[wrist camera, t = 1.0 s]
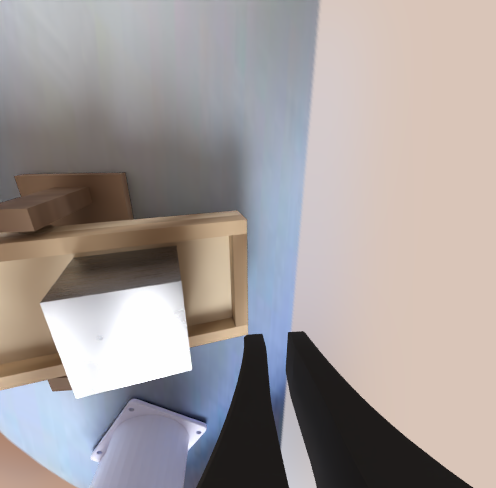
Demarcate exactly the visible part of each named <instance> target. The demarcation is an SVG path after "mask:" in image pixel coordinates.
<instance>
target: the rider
mask: <svg viewBox="0 0 496 488" xmlns="http://www.w3.org/2000/svg"><path fill="white" fill-rule="evenodd" d="M40 305H41V308H42V310H43V313H44V316H45V318H46V321H47V324H48V326H49V329H50V331H51V334H52V337H53V339H54V342H55V345H56V347H57V350H58V353H59V355H60V358H61V360H62V363H63V366H64V368H65V371H66V374H67V376H68V379H69V381H70V384H71V387H72V389H73V392H74V395H75V397H76V399H78V398H82V397H86V396H90V395H94V394H98V393H102V392H106V391H110V390H114V389H118V388H122V387H126V386H130V385H134V384H138V383H142V382H146V381H150V380H154V379H158V378H162V377H166V376H170V375H174V374H178V373H182V372H186V371H190V370H192V363H191V355H190V347H189V339H188V331H187V323H186V314H185V306H184V298H183V290H182V282H181V275H180V267H179V260H178V253H177V246H168V247H159V248H151V249H143V250H134V251H126V252H117V253H109V254H100V255H92V256H83V257H75V258H73V259H72V260H71V261H70V263H69V264H68V265H67V267H66V268H65V270H64V271H63V272H62V274H61V275H60V276H59V278H58V279H57V280H56V282H55V283H54V284H53V286H52V287H51V288H50V290H49V291H48V293H47V294H46V295H45V297H44V298H43V299H42V301H41V302H40Z"/></svg>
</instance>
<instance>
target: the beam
mask: <svg viewBox="0 0 496 488" xmlns="http://www.w3.org/2000/svg"><path fill="white" fill-rule="evenodd" d="M168 246H177V253H178V260H179V267H180V275H181V282H182V290H183V298H184V306H185V314H186V323H187V331H188V339H189V347H195V346H199V345H204V344H208V343H212V342H217V341H221V340H226V339H230V338H235V337H239V336H243V335H248V284H247V219H246V218H245V217H244V216H243V215H241V214H240V213H239V212H238V211H237V210H236V211H224V212H213V213H202V214H190V215H179V216H168V217H156V218H145V219H133V220H122V221H111V222H99V223H88V224H77V225H65V226H53V225H46V226H44V227H42V228H40V229H38V230H36V231H28V232H0V390H4V389H9V388H13V387H17V386H22V385H26V384H31V383H35V382H40V381H44V380H48V379H53V378H57V377H62V376H66V375H67V374H66V371H65V368H64V366H63V363H62V360H61V358H60V355H59V353H58V350H57V347H56V345H55V342H54V339H53V337H52V334H51V331H50V329H49V326H48V324H47V321H46V318H45V316H44V313H43V310H42V308H41V305H40V302H41V301H42V299H43V298H44V297H45V295H46V294H47V293H48V291H49V290H50V288H51V287H52V286H53V284H54V283H55V282H56V280H57V279H58V278H59V276H60V275H61V274H62V272H63V271H64V270H65V268H66V267H67V265H68V264H69V263H70V261H71V260H72V259H73V258H75V257H83V256H92V255H100V254H109V253H117V252H126V251H134V250H143V249H151V248H159V247H168Z"/></svg>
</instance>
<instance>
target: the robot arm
mask: <svg viewBox="0 0 496 488" xmlns="http://www.w3.org/2000/svg"><path fill="white" fill-rule="evenodd" d="M286 375H287V380H288V385H289V390H290V395H291V399H292V403H293V406H294V409H295V413H296V416H297V420H298V423H299V426H300V429H301V433H302V436H303V439H304V443H305V446H306V449H307V453H308V456H309V459H310V462H311V466H312V470H313V473H314V477H315V481H316V486H317V488H473V487H471V486H470V485H469V484H467V483H465V482H464V481H463V480H462V479H460V478H459V477H457V476H456V475H454V474H453V473H452V472H450V471H449V470H448V469H446V468H445V467H444V466H442V465H441V464H440V463H438V462H437V461H436V460H435V459H433V458H432V457H431V456H429V455H428V454H427V453H426V452H424V451H423V450H422V449H421V448H419V447H418V446H417V445H415V444H414V443H413V442H411V441H410V440H409V439H408V438H406V437H405V436H404V435H403V434H402V433H401V432H399V431H398V430H397V429H396V428H395V427H393V426H392V425H391V424H390V423H389V422H388V421H387V420H386V419H384V418H383V417H382V416H381V415H380V414H379V413H378V412H377V411H376V410H375V409H374V408H373V407H371V406H370V405H369V404H368V403H367V402H366V401H365V400H364V399H363V398H362V397H361V396H360V395H359V394H358V393H357V392H356V391H355V390H354V389H353V388H352V387H351V386H350V385H349V384H348V383H347V382H346V380H345V379H344V378H343V377H342V376H341V375H340V374H339V373H338V372H337V371H336V369H335V368H334V367H333V366H332V365H331V364H330V363H329V362H328V361H327V359H326V358H325V357H324V356H323V354H322V353H321V352H320V351H319V350H318V348H317V347H316V346H315V345H314V343H313V342H312V341H311V340H310V339H309V337H308V336H307V335H306V333H305V332H303V331H302V332H288V343H287V358H286ZM206 429H207V425H206V424H205V423H203V422H200V421H198V420H195V419H192V418H189V417H186V416H184V415H181V414H178V413H175V412H172V411H169V410H167V409H164V408H161V407H158V406H155V405H153V404H150V403H147V402H144V401H141V400H138V399H131V400H130V401H129V402H128V404H127V405H126V406H125V408H124V409H123V411H122V412H121V413H120V415H119V416H118V418H117V419H116V420H115V422H114V423H113V425H112V426H111V427H110V429H109V430H108V432H107V433H106V434H105V436H104V437H103V438H102V440H101V441H100V443H99V444H98V445H97V447H96V448H95V450H94V451H93V452H92V454H91V457H90V458H91V460H93V461H97V462H99V464H98V467H97V469H96V472H95V474H94V477H93V479H92V482H91V485H90V487H89V488H183V485H184V477H185V468H186V460H187V452H188V450H189V449H190V448H191V447H192V445H193V444H194V443H195V442H196V441H197V440H198V439H199V438H200V437H201V435H202V434H203V433H204V432H205V431H206ZM196 488H289V486H288V481H287V477H286V473H285V468H284V464H283V459H282V454H281V450H280V445H279V441H278V436H277V431H276V426H275V421H274V416H273V411H272V405H271V398H270V386H269V375H268V364H267V352H266V346H265V342H264V338H263V335H262V334H252V335H246V336H245V337H244V353H243V359H242V365H241V369H240V373H239V378H238V382H237V385H236V389H235V392H234V395H233V399H232V402H231V405H230V408H229V411H228V414H227V417H226V420H225V422H224V425H223V428H222V430H221V433H220V435H219V438H218V440H217V443H216V445H215V447H214V450H213V452H212V454H211V457H210V459H209V461H208V464H207V466H206V468H205V470H204V473H203V475H202V477H201V479H200V481H199V483H198V485H197V487H196Z"/></svg>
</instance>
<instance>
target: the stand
mask: <svg viewBox="0 0 496 488" xmlns="http://www.w3.org/2000/svg"><path fill="white" fill-rule="evenodd" d="M14 177H15V180H16V183H17V186H18V189H19V192H20V195H21V197H19V198H15V199H12V200H8V201H5V202H1V203H0V232H28V231H36V230H38V229H40V228H42V227H44V226H46V225H53V226H65V225H77V224H88V223H99V222H111V221H122V220H133V219H134V217H133V212H132V207H131V201H130V196H129V190H128V185H127V180H126V174H125V173H67V174H23V175H17V176H14ZM48 382H49V384H50V387H51V389H52V391H65V390H73V389H72V387H71V384H70V381H69V379H68V376H67V375H66V376H62V377H57V378H53V379H48Z"/></svg>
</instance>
